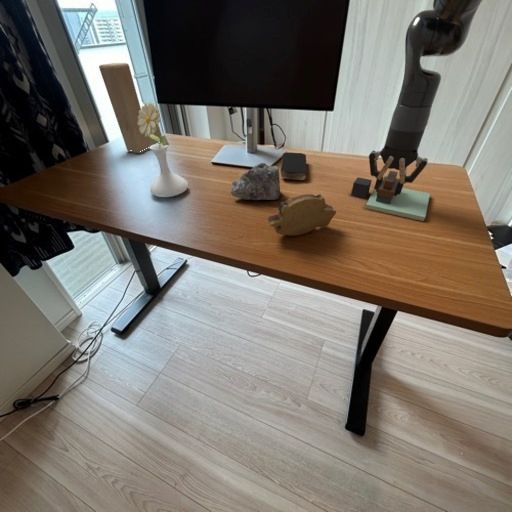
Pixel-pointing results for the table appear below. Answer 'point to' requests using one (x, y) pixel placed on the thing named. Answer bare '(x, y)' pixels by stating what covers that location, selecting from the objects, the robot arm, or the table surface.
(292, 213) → the wooden carving
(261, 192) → the mineral rock
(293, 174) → the black sponge
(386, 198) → the brown stepped block
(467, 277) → the table surface
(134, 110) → the decorative block
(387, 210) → the tray
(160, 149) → the flower in vase
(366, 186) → the charcoal matte cube
